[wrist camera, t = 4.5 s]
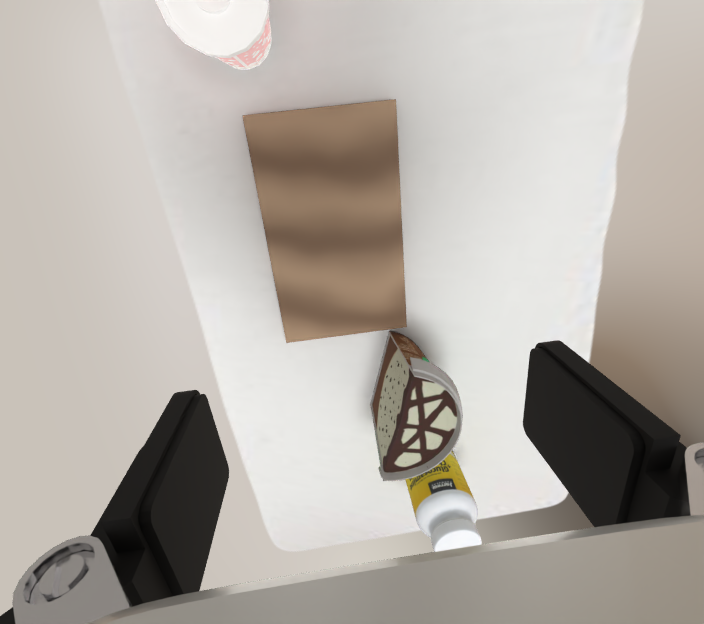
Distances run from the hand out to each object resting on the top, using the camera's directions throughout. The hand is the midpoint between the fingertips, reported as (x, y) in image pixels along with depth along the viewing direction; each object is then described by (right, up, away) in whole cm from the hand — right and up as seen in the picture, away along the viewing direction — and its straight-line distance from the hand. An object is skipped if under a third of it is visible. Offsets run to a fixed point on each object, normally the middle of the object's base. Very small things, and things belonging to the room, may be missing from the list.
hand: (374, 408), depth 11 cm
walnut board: (-2, +10, +24) cm, 26 cm away
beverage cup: (-9, +24, +18) cm, 31 cm away
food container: (+5, -4, +31) cm, 32 cm away
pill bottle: (+9, -15, +36) cm, 40 cm away
